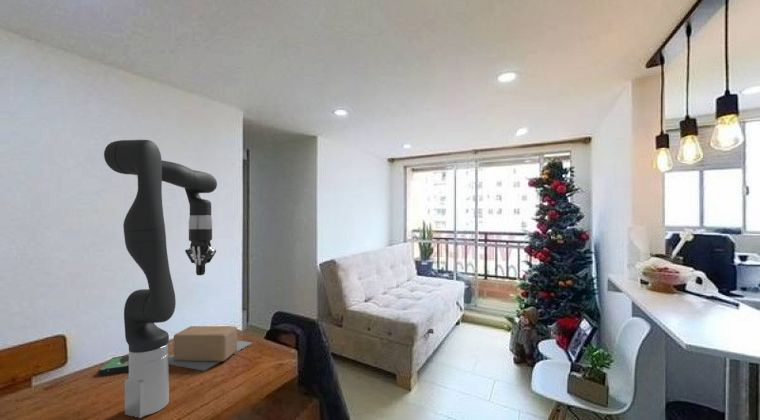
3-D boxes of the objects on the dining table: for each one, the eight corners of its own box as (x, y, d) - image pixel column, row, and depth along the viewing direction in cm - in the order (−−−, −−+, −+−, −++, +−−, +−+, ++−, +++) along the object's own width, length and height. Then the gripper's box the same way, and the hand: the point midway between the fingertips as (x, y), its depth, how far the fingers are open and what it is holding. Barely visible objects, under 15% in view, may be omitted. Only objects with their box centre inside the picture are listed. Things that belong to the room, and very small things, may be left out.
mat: (204, 370, 110) (204, 369, 110) (159, 362, 117) (159, 360, 117) (252, 344, 132) (252, 342, 132) (212, 338, 139) (212, 337, 139)
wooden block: (238, 325, 125) (190, 325, 126) (224, 335, 115) (172, 334, 116) (238, 350, 124) (190, 350, 126) (224, 362, 114) (172, 361, 116)
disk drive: (158, 358, 122) (112, 364, 117) (158, 351, 122) (112, 356, 117) (148, 370, 112) (97, 377, 107) (148, 362, 112) (97, 369, 107)
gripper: (177, 228, 114) (177, 276, 113) (205, 228, 110) (205, 277, 109) (196, 227, 121) (195, 272, 121) (222, 227, 117) (222, 274, 116)
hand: (200, 274), depth 115 cm, fingers closed
